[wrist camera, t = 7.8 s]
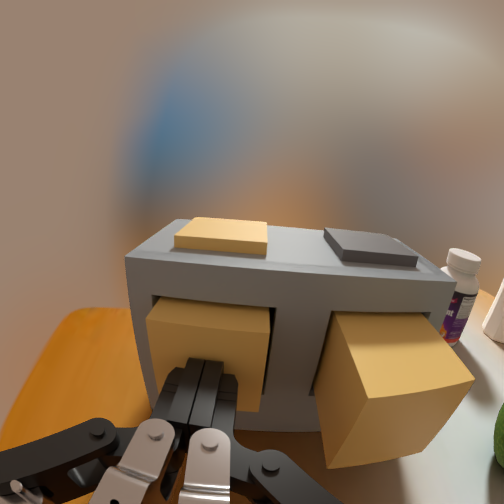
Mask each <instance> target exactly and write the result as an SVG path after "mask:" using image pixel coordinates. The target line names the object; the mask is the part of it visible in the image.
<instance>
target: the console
mask: <svg viewBox="0 0 504 504" xmlns="http://www.w3.org/2000/svg"><path fill="white" fill-rule="evenodd" d="M125 267H126V278H127V286H128V295H129V302H130V309H131V316H132V322H133V328H134V334H135V340H136V345H137V350H138V355H139V360H140V364H141V369H142V373H143V378H144V382H145V386H146V390H147V394H148V398H149V401H150V405H151V409H152V412H153V409H154V407H155V404H156V402H157V399H158V397H159V393H158V389H157V384H156V379H155V374H154V369H153V364H152V358H151V352H150V346H149V340H148V334H147V327H146V317H147V316H148V314H149V313H150V311H151V310H152V309H153V307H154V306H155V304H156V303H157V302H158V300H159V299H160V297H161V296H166V297H174V298H182V299H191V300H200V301H209V302H218V303H229V304H239V305H251V306H263V307H269V321H270V335H269V343H268V350H267V357H266V365H265V372H264V379H263V386H262V392H261V399H260V406H259V412H247V411H236V418H235V427H234V429H240V430H253V431H273V432H315V431H321V428H320V422H319V416H318V410H317V404H316V399H315V393H314V388H313V382H312V381H313V378H314V375H315V371H316V368H317V364H318V361H319V357H320V353H321V350H322V346H323V342H324V338H325V334H326V330H327V326H328V322H329V317H330V313H331V311H358V312H421V313H422V314H423V315H424V316H425V318H426V319H427V320H428V321H429V322H430V323H431V325H432V326H433V327H434V328H435V329H436V330H437V332H438V333H439V331H440V329H441V326H442V324H443V321H444V319H445V316H446V314H447V311H448V308H449V305H450V303H451V300H452V297H453V294H454V291H455V288H456V285H457V281H455V280H454V279H453V278H451V277H450V276H449V275H447V274H446V273H445V272H443V271H442V270H441V269H439V268H438V267H436V266H435V265H434V264H432V263H431V262H429V261H428V260H427V259H425V258H424V257H422V256H421V255H420V254H418V253H417V252H415V251H414V250H412V249H411V248H409V247H408V246H406V245H405V244H403V243H402V242H400V241H399V240H397V239H395V238H391V237H390V236H388V235H385V234H377V233H369V232H360V231H350V230H342V229H333V228H324V231H322V230H311V229H301V228H290V227H278V226H268V225H267V222H257V221H245V220H231V219H217V218H202V217H195V218H194V219H193V220H185V219H176V220H175V221H173V222H172V223H170V224H169V225H167V226H166V227H165V228H163V229H162V230H161V231H159V232H157V233H156V234H155V235H153V236H152V237H150V238H149V239H148V240H146V241H145V242H143V243H142V244H141V245H139V246H138V247H137V248H135V249H134V250H133V251H131V252H130V253H129V254H127V255H126V256H125Z"/></svg>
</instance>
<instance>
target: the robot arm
mask: <svg viewBox="0 0 504 504" xmlns="http://www.w3.org/2000/svg"><path fill="white" fill-rule="evenodd" d="M237 398H238V381H237V379H236V377H235V375H234V374H224V362H222V361H213V360H205V359H197V358H190V357H189V358H188V360H187V363H186V366H185V368H180V367H175V368H174V369H173V370H172V371H171V372H170V373H168V375H167V378H166V380H165V382H164V385H163V387H162V391H161V392H160V394H159V397H158V399H157V402H156V404H155V407H154V409H153V412H152V414H151V416H150V418H149V419H148V420H146V421H144V422H142V423H141V424H140V425H139V426H138V427H134V428H115V426H114V425H113V424H112V423H111V422H110V421H109V420H107V419H104V418H93V419H90V420H88V421H86V422H83V423H81V424H78V425H76V426H73V427H71V428H68V429H66V430H63V431H61V432H58V433H55V434H53V435H50V436H47V437H44V438H42V439H39V440H36V441H33V442H30V443H27V444H24V445H21V446H18V447H15V448H12V449H8V450H5V451H1V452H0V504H62V503H65V502H68V501H71V500H73V499H76V498H79V497H81V496H84V495H86V494H88V493H91V492H93V491H95V492H94V494H93V496H92V498H91V500H90V502H89V504H171V501H172V498H173V495H174V492H175V490H176V487H177V484H178V481H179V478H180V475H181V472H182V469H183V461H184V457H185V453H188V457H187V465H186V472H185V479H184V485H183V487H182V488H181V490H180V494H179V501H178V504H230V491H233V492H235V493H238V494H241V495H244V496H246V497H247V498H248V500H249V501H250V502H251V503H252V504H343V503H342V502H341V501H339V500H338V499H337V498H335V497H334V496H333V495H332V494H330V493H329V492H328V491H327V490H325V489H324V488H323V487H322V486H321V485H319V484H318V483H317V482H316V481H315V480H314V479H312V478H311V477H310V476H309V475H308V474H307V473H305V472H304V471H303V470H302V469H301V468H300V467H299V466H298V465H297V464H295V463H294V462H293V461H292V460H291V459H290V458H289V457H288V456H287V455H286V454H284V453H282V452H280V451H277V450H263V451H260V452H256V451H253V450H250V449H247V448H245V447H243V446H241V445H240V444H239V443H238V442H237V441H236V440H235V438H234V427H235V418H236V410H237Z"/></svg>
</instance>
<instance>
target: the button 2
mask: <svg viewBox="0 0 504 504" xmlns="http://www.w3.org/2000/svg"><path fill="white" fill-rule="evenodd" d="M474 381H475V378H474V377H473V375H472V374H471V373H470V371H469V370H468V369H467V367H466V366H465V365H464V364H463V362H462V361H461V360H460V358H459V357H458V356H457V355H456V353H455V352H454V351H453V350H452V348H451V347H450V346H449V345H448V344H447V342H446V341H445V340H444V339H443V337H442V336H441V335H440V334H439V333H438V332H437V330H436V329H435V328H434V327H433V326H432V325H431V323H430V322H429V321H428V320H427V319H426V318H425V316H424V315H423V314H422V313H421V312H358V311H331V313H330V317H329V322H328V326H327V330H326V334H325V338H324V342H323V346H322V350H321V353H320V357H319V361H318V364H317V368H316V371H315V375H314V378H313V381H312V382H313V388H314V393H315V399H316V404H317V410H318V416H319V422H320V428H321V434H322V441H323V447H324V454H325V460H326V467H327V469H334V468H343V467H351V466H358V465H365V464H371V463H376V462H381V461H386V460H391V459H396V458H400V457H404V456H408V455H412V454H416V453H419V452H422V451H423V450H424V449H425V448H426V446H427V445H428V444H429V443H430V442H431V441H432V439H433V438H434V437H435V436H436V435H437V433H438V432H439V431H440V430H441V428H442V427H443V426H444V425H445V423H446V422H447V421H448V419H449V418H450V417H451V415H452V414H453V413H454V411H455V410H456V408H457V407H458V406H459V404H460V403H461V401H462V400H463V398H464V397H465V395H466V394H467V392H468V391H469V389H470V387H471V386H472V384H473V383H474Z"/></svg>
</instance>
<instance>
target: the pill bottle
mask: <svg viewBox="0 0 504 504" xmlns="http://www.w3.org/2000/svg"><path fill="white" fill-rule="evenodd" d="M447 264H448V266H447V267H443V268H441V270H442V271H443V272H445V273H446V274H447V275H449V276H450V277H451V278H453V279H454V280H455V281H457V285H456V288H455V291H454V294H453V297H452V300H451V303H450V305H449V308H448V311H447V314H446V316H445V319H444V321H443V324H442V326H441V329H440V331H439V334H440V335H441V336H442V337H443V339H444V340H445V341H446V342H447V344H448V345H449V346H450V347H452V346H454V345H455V344H456V343H457V342H458V340H459V338H460V336H461V334H462V332H463V329H464V327H465V325H466V322H467V320H468V317H469V315H470V312H471V310H472V307H473V305H474V302H475V299H476V296H477V294H478V290H479V282H478V280H477V278H476V277H475V274H477V273H478V271H479V267H480V264H481V259H480V258H479V257H478V256H476V255H474V254H472V253H470V252H467V251H465V250H461V249H456V248H451V249H450V250H449V253H448V257H447Z"/></svg>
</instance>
